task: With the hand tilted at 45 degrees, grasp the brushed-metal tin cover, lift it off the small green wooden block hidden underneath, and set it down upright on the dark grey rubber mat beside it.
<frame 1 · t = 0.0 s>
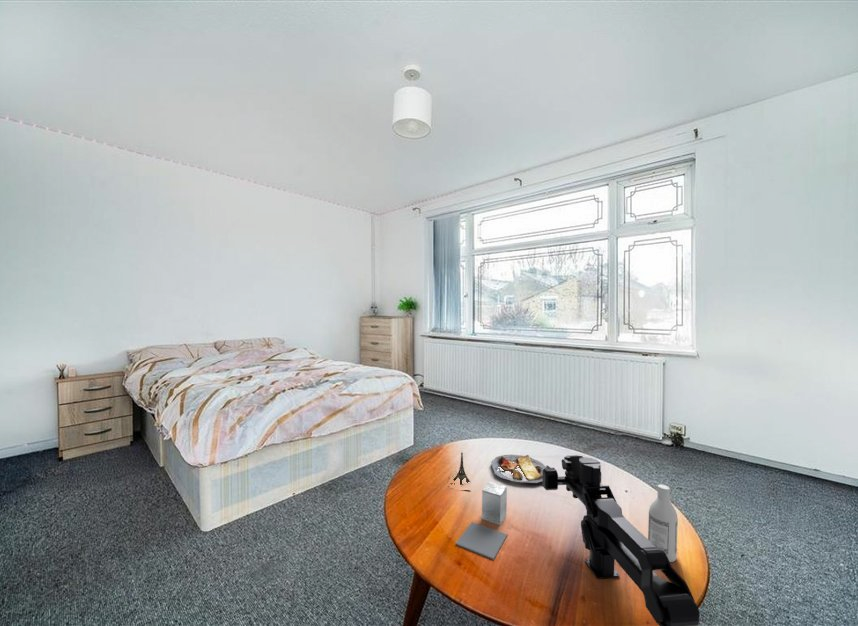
hand: (559, 466, 120), 17 cm above the table, tool horizontal, fingers open, 9 cm apart
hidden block: (494, 513, 118), in the tin cover
bath foam: (661, 555, 101), on the table
tin cover: (494, 517, 118), on the table
rubber mat: (481, 540, 106), on the table
food plate: (519, 472, 151), on the table
eiffel tower figurine: (460, 482, 142), on the table
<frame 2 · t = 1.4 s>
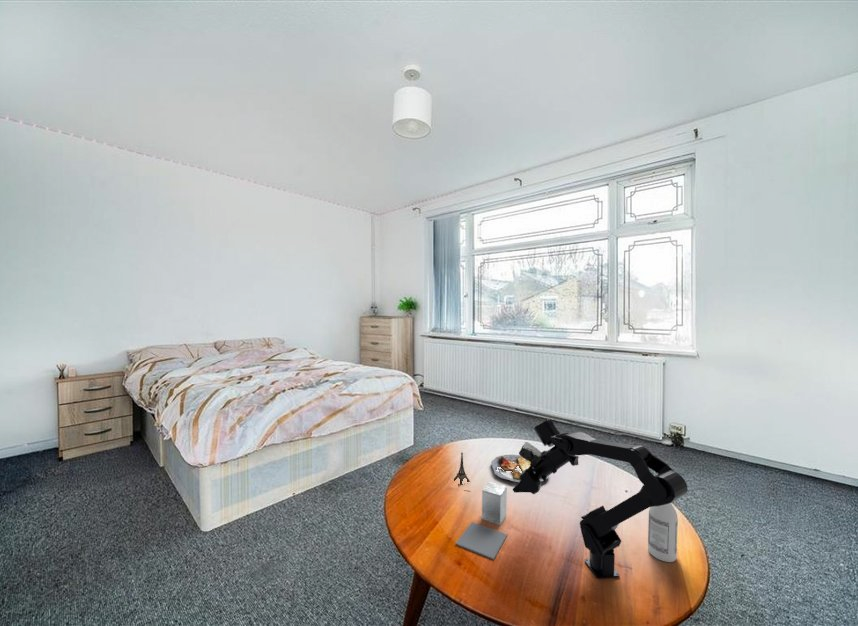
hand: (517, 484, 114), 13 cm above the table, tool tilted 45°, fingers open, 9 cm apart
nothing on the table moved.
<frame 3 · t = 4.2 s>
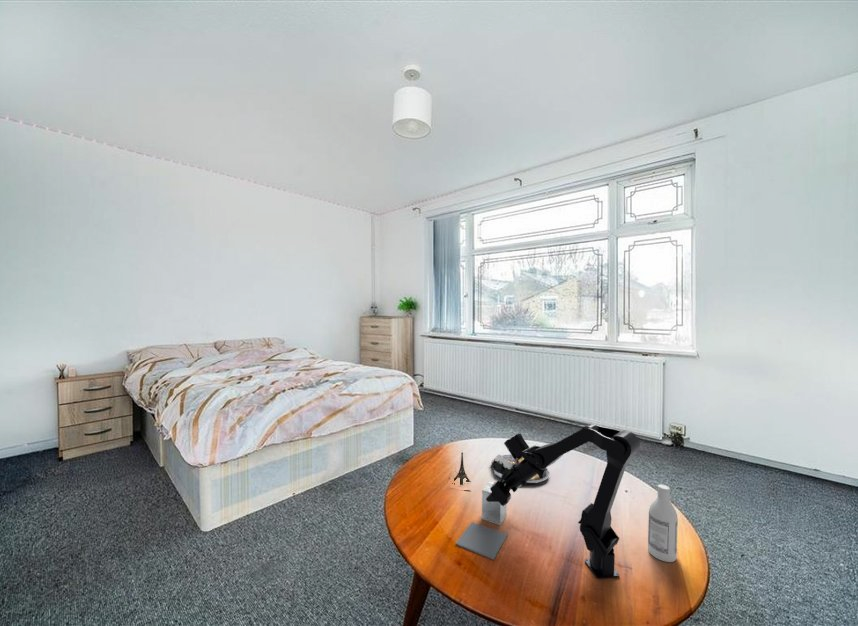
hand: (490, 495, 118), 7 cm above the table, tool tilted 45°, fingers closed on tin cover, 6 cm apart
tin cover: (494, 517, 118), on the table, touching gripper
everything else where it was.
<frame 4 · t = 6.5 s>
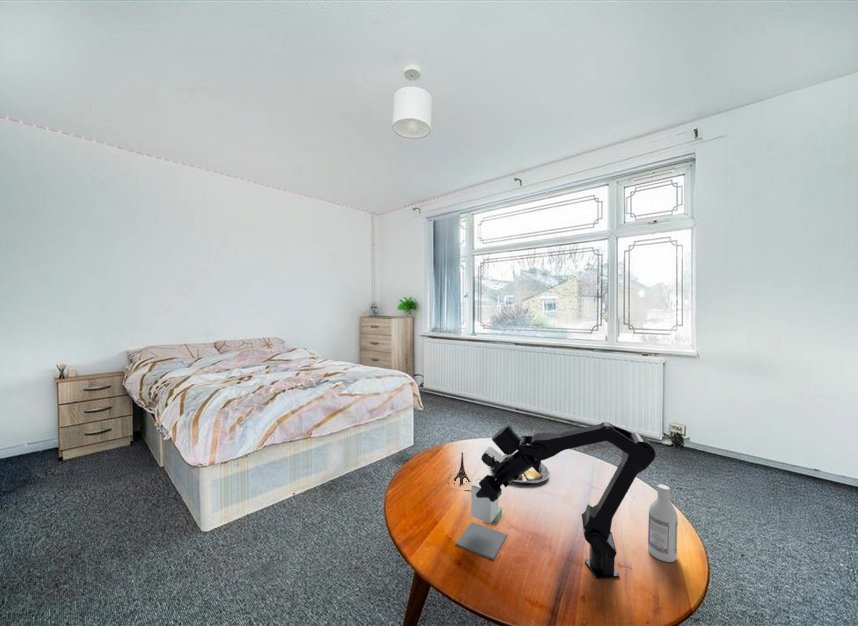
hand: (481, 491, 109), 14 cm above the table, tool tilted 45°, fingers closed on tin cover, 6 cm apart
tin cover: (484, 514, 109), point 6 cm above the table, touching gripper
everything else where it was.
when the fingers open (8 cm above the table, at t = 8.8 s): tin cover stays where it is, resting on rubber mat.
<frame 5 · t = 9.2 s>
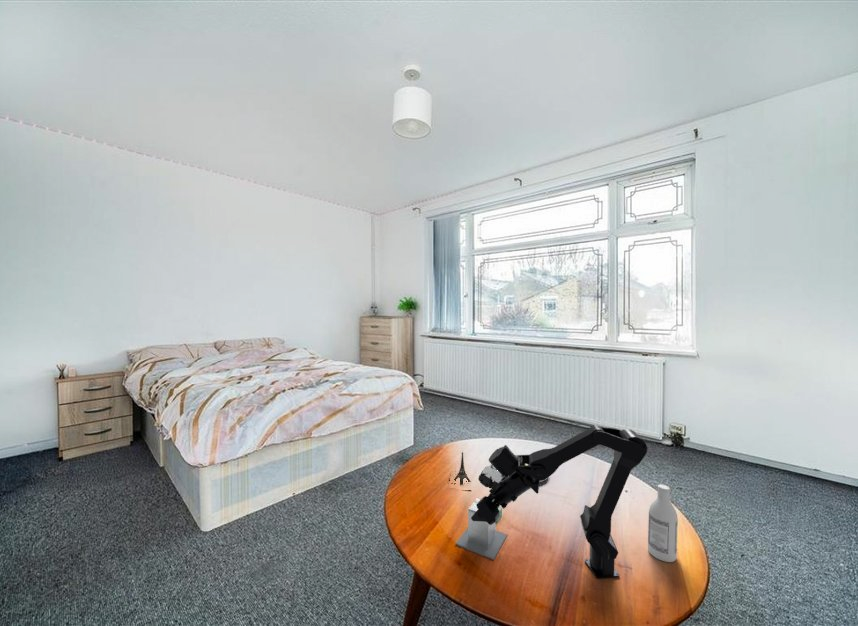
hand: (478, 511, 107), 9 cm above the table, tool tilted 45°, fingers open, 9 cm apart
tin cover: (481, 538, 106), resting on rubber mat
everything else where it was.
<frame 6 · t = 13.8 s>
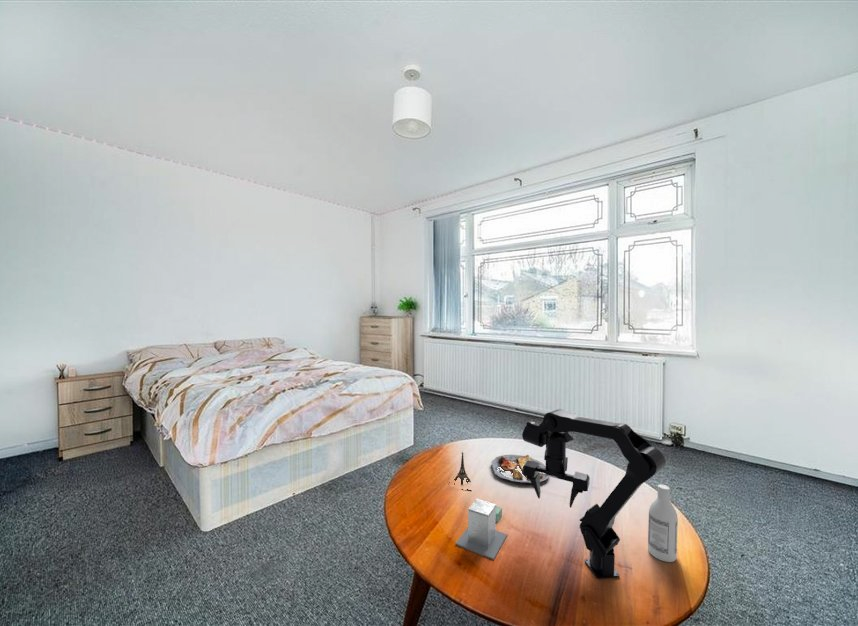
hand: (554, 502, 106), 12 cm above the table, tool pointing down, fingers open, 9 cm apart
nothing on the table moved.
at the end: tin cover inside the target area on the rubber mat (0.1 cm from its centre), point 0.5 cm above the rubber mat's base; tin cover tilted 0°; the gripper is holding nothing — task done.
